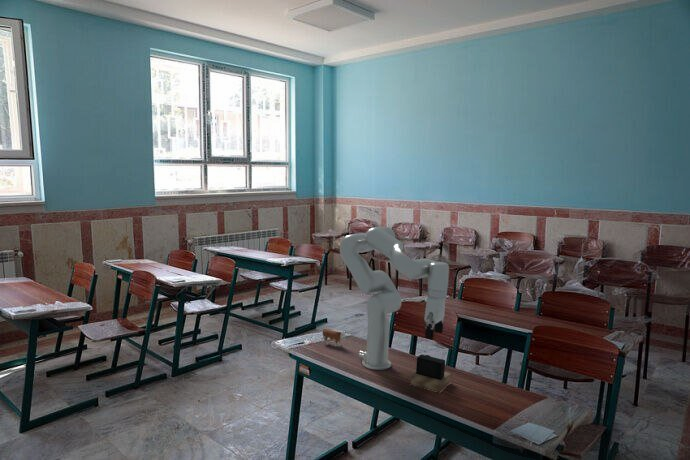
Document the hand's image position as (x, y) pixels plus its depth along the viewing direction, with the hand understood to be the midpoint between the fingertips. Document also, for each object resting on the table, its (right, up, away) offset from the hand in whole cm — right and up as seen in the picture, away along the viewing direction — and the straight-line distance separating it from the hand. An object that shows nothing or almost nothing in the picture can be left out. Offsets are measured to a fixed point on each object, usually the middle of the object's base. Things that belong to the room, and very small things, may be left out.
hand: (433, 335), depth 194 cm
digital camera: (-1, -16, +1) cm, 16 cm away
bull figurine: (-40, -14, +42) cm, 60 cm away
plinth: (-1, -20, +2) cm, 20 cm away
